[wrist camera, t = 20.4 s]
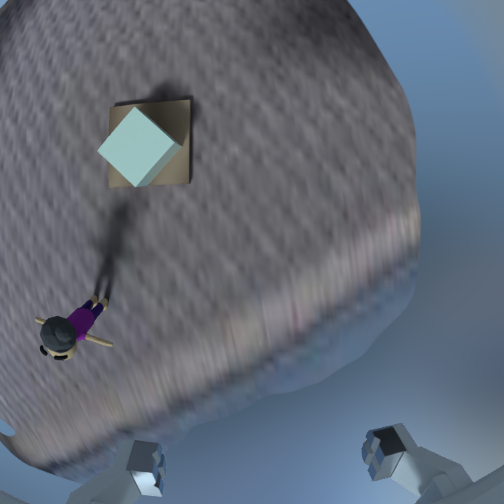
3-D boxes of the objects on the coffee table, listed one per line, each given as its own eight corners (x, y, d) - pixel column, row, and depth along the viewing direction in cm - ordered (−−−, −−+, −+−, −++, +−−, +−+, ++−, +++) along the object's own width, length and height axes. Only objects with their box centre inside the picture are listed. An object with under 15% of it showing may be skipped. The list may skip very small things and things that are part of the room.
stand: (111, 187, 35) (95, 189, 30) (112, 108, 33) (97, 100, 28) (190, 183, 36) (183, 184, 31) (190, 101, 33) (185, 91, 28)
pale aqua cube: (148, 185, 34) (135, 187, 30) (114, 153, 33) (97, 151, 28) (182, 146, 34) (174, 142, 29) (146, 115, 32) (134, 106, 27)
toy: (68, 301, 38) (12, 354, 24) (70, 265, 37) (6, 308, 22) (134, 321, 39) (96, 387, 25) (138, 284, 38) (95, 341, 24)
